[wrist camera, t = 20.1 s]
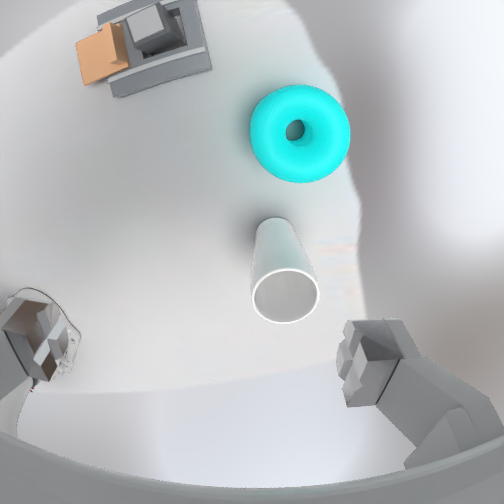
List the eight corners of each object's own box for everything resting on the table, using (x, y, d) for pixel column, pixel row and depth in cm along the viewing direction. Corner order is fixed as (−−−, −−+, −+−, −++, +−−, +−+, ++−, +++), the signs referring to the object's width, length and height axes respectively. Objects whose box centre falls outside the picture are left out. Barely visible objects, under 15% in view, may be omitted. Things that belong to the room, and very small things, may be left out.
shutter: (130, 67, 29) (118, 64, 26) (86, 85, 30) (71, 85, 27) (121, 24, 27) (108, 17, 23) (78, 44, 27) (63, 40, 24)
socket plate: (212, 69, 33) (208, 65, 30) (122, 97, 34) (111, 97, 31) (193, -11, 27) (188, -20, 24) (106, 20, 28) (94, 14, 25)
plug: (185, 44, 31) (168, 30, 23) (156, 57, 32) (132, 47, 24) (176, 19, 29) (157, 0, 22) (147, 32, 30) (122, 17, 22)
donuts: (325, 202, 30) (232, 160, 28) (308, 178, 39) (237, 146, 37) (370, 115, 26) (277, 66, 24) (342, 111, 35) (270, 75, 33)
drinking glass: (294, 258, 45) (311, 327, 31) (247, 252, 44) (245, 322, 31) (303, 214, 42) (329, 271, 28) (253, 207, 41) (255, 263, 28)
